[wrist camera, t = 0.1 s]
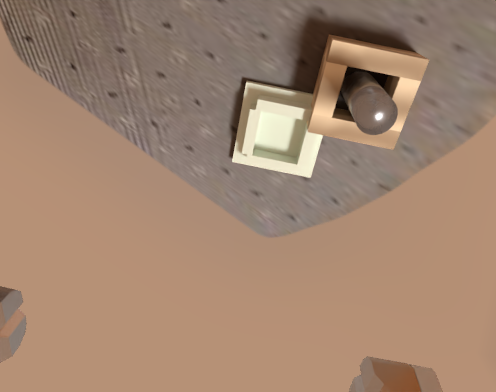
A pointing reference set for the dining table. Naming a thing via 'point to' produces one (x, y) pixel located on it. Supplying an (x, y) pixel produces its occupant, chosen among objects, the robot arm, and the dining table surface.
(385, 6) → the dining table surface
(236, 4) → the dining table surface
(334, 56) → the bored block
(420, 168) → the dining table surface
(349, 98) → the axle
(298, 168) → the holder
